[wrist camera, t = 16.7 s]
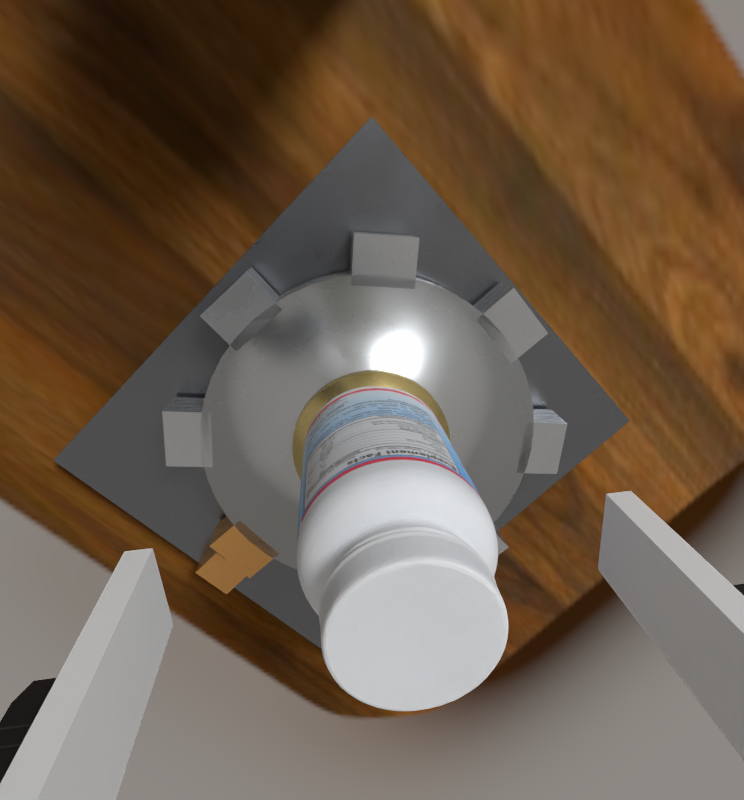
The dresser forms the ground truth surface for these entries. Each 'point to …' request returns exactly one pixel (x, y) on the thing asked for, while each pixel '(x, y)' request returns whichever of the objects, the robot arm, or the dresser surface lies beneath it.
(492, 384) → the sprocket
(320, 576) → the pill bottle
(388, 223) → the base plate
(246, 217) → the dresser surface
